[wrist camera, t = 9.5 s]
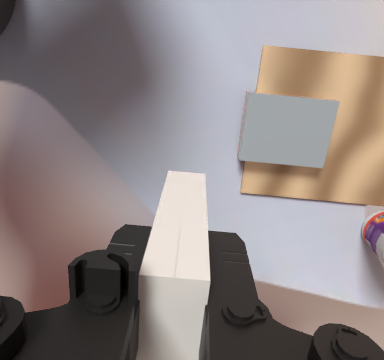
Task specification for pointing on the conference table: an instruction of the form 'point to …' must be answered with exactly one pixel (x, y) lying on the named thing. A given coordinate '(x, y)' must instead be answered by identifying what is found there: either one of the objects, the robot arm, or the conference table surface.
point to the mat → (342, 130)
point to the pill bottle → (375, 233)
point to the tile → (286, 129)
